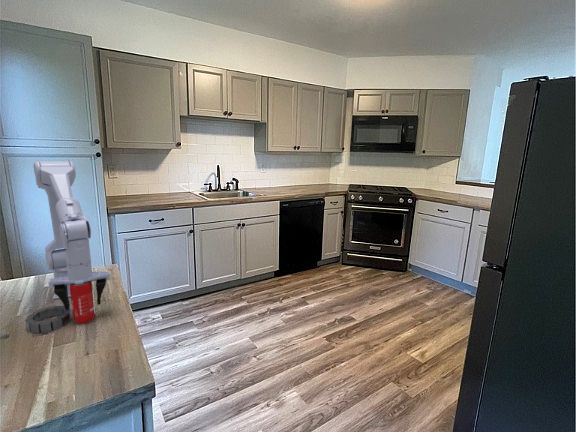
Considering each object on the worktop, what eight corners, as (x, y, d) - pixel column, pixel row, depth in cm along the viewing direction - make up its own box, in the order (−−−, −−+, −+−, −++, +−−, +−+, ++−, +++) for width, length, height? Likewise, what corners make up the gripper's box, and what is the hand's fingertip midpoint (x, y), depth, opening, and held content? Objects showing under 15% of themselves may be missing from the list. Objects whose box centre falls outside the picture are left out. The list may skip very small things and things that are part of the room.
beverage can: (85, 325, 89) (80, 286, 86) (69, 323, 90) (64, 284, 87) (99, 316, 94) (95, 278, 91) (84, 313, 95) (80, 276, 92)
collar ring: (31, 317, 91) (30, 309, 91) (73, 310, 96) (72, 303, 96) (22, 336, 83) (21, 328, 82) (68, 327, 87) (67, 319, 87)
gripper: (44, 270, 82) (50, 317, 85) (108, 263, 89) (112, 307, 92) (49, 261, 88) (54, 305, 91) (108, 255, 95) (112, 296, 98)
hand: (83, 305), depth 92 cm, fingers open, 7 cm apart
